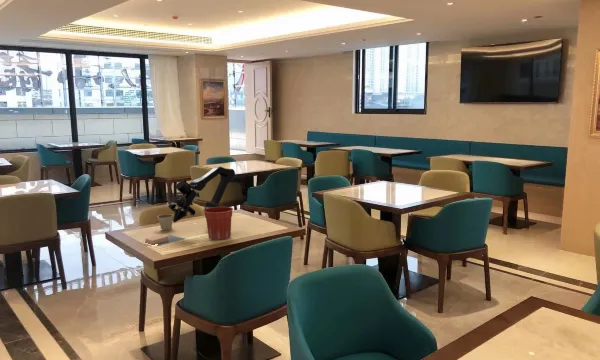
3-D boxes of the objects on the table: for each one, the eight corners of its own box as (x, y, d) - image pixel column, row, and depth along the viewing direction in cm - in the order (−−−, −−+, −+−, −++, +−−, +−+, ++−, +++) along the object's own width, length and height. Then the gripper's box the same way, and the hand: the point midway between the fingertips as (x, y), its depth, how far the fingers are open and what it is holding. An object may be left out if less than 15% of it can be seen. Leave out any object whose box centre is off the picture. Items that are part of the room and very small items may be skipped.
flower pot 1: (172, 231, 294) (171, 217, 293) (156, 232, 294) (155, 217, 293) (176, 227, 303) (175, 214, 302) (161, 228, 304) (160, 214, 302)
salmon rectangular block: (160, 234, 275) (145, 238, 268) (168, 236, 271) (152, 240, 263) (161, 239, 276) (145, 243, 268) (168, 241, 271) (152, 245, 264)
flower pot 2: (230, 232, 288) (229, 205, 286) (237, 239, 273) (236, 210, 270) (202, 235, 282) (201, 208, 280) (208, 242, 267) (206, 213, 265)
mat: (170, 235, 285) (170, 234, 284) (185, 239, 275) (185, 238, 275) (139, 243, 270) (139, 242, 269) (154, 248, 260) (154, 247, 260)
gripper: (169, 189, 284) (154, 212, 278) (189, 192, 272) (174, 216, 266) (181, 200, 291) (167, 222, 285) (201, 203, 279) (187, 227, 273)
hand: (173, 222), depth 277 cm, fingers closed
